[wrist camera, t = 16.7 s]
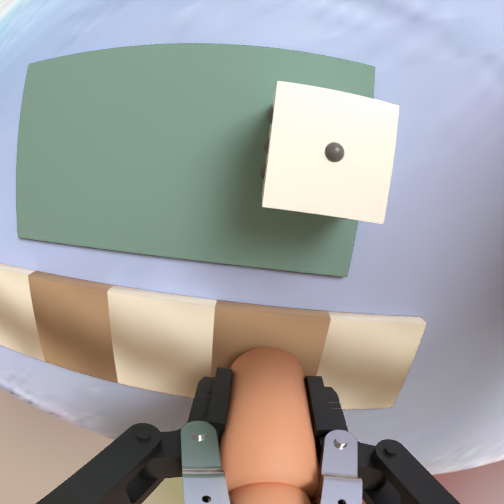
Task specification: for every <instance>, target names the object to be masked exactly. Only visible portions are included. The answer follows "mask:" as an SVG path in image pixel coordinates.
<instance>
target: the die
mask: <svg viewBox="0 0 504 504" xmlns="http://www.w3.org/2000/svg"><path fill="white" fill-rule="evenodd" d="M398 113H399V106H398V105H395V104H391V103H388V102H384V101H380V100H376V99H372V98H368V97H364V96H360V95H355V94H351V93H346V92H342V91H337V90H332V89H327V88H321V87H316V86H310V85H304V84H297V83H291V82H283V81H277V86H276V90H275V95H274V100H273V106H272V108H270V109H269V110H268V112H267V120H268V122H269V123H270V131H269V138H267V139H266V140H265V141H264V143H263V149H264V151H265V152H266V153H267V156H266V164H264V165H263V166H262V167H261V169H260V175H261V177H262V178H263V179H264V181H263V189H262V207H267V208H275V209H283V210H290V211H298V212H305V213H313V214H320V215H327V216H334V217H339V218H341V219H354V220H360V221H366V222H373V223H379V224H383V223H384V217H385V212H386V206H387V200H388V194H389V188H390V181H391V175H392V168H393V160H394V152H395V144H396V134H397V124H398Z"/></svg>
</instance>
